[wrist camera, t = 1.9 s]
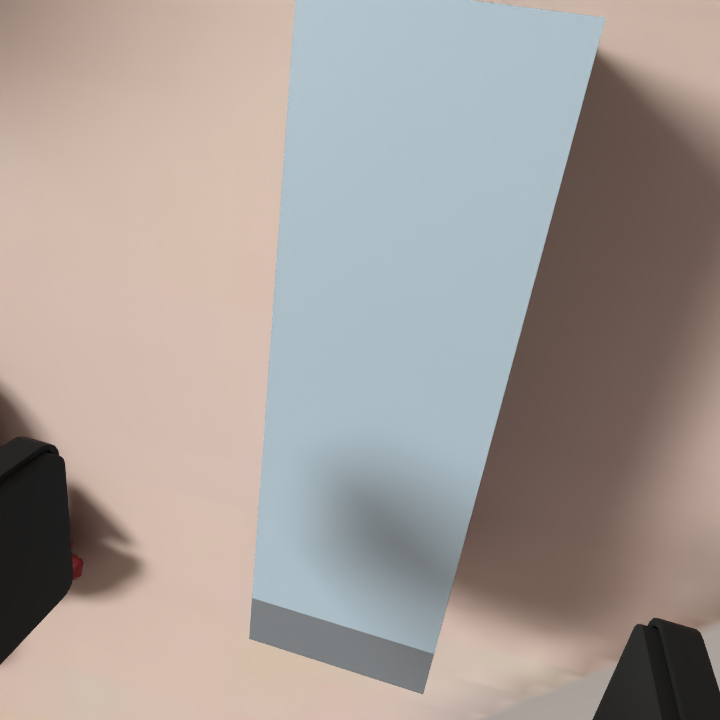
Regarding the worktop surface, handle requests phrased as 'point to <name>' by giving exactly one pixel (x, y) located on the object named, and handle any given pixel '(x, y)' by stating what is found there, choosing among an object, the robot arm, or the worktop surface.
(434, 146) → the light blue block
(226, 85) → the worktop surface
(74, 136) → the worktop surface
